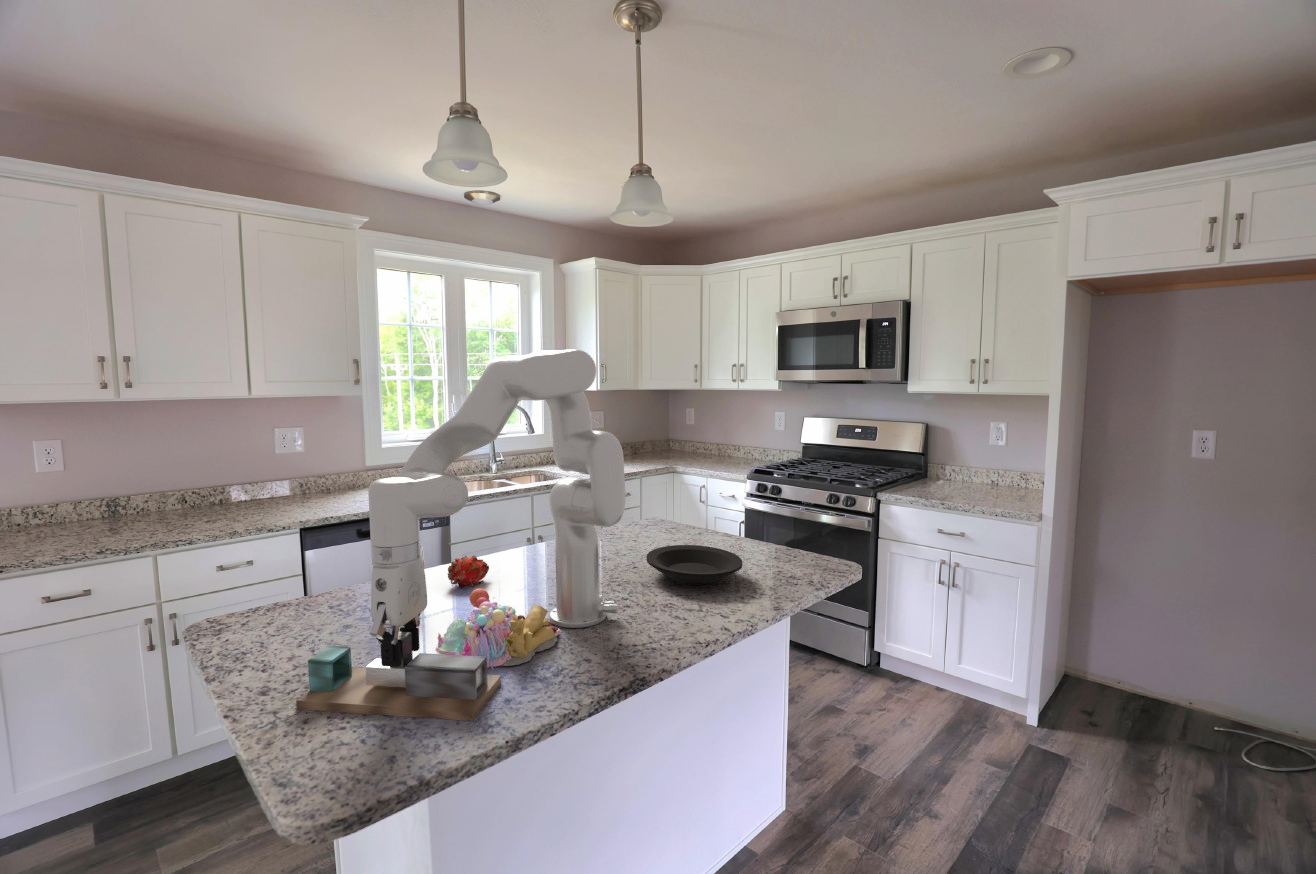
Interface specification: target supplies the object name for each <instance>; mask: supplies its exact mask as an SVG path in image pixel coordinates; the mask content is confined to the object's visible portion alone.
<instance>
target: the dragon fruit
mask: <svg viewBox="0 0 1316 874" xmlns="http://www.w3.org/2000/svg"><path fill="white" fill-rule="evenodd" d="M453 560H454V561H451V564H450V565H449V566H448V567H447V571H448V573H447V578H448V580H449V581H450V584H451V585H457V584H458V587H459V588H463V587H464V586H466V587H470V588H472V587H474V585H481V584H482V583H483V582H484V578H485V577H486V576H487V574H488V573H489V570H490V565H488V563H487V562H486V561H484V559H478V557H477V556H476V555H472V556H471V557H468V556H467V555H465V556H464V557H462V558H458V557H457V558H455V559H453Z"/></svg>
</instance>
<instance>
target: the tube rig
mask: <svg viewBox="0 0 1316 874" xmlns="http://www.w3.org/2000/svg"><path fill="white" fill-rule="evenodd" d="M481 666H482V683H481V685H480V686H479V687H478V688H477V686H476V672H477V671H478V669H479V668H480V667H481ZM307 667H308V668H307V669H308V684H309V685H308V686H309V690H308V691H307V692H306V693H305V694H303V695H302V696H300V697H299V698H297V699H296V700H295V701H296V703H295V704H296V710H300V709H304V711H315V710H320V712H331V713H332V712H333V713H334V712H336V713H349V714H350V713H351V714H362V715H363V714H365V715H379V716H393V717H394V716H395V717H408V718H409V717H411V718H426V719H439V720H440V719H441V720H454V721H455V720H456V721H472V722H473V721H474V720H475V718H476V717H477V715H478V714H479V713H480V712H481V710H482V709H483V708H484V707H485V706H486V704H487V703H488V702H489V700H490V699H491V697H493V695H494V693H495V692H496V691H497V689H498V688H499V687H500V686H501V684H502V675H500V674H488V667H487V657H483V656H464V655H449V654H443V653H425V652H424V653H421V652H419V653H418V654H417V655H416V656H415V657H414V658H413V660H412V661H410V662H409V663H408V664H407V665H406V666H405V686H406V688H405V687H388V686H371V685H366V668H365V667H359V666H358V667H356V666H355V667H353V666H352V648H351V646H335V645H334V646H333V645H329V646H327V647H326V648H324V649H323V650H321V651H319V652H318V653H317V654H315V655H313V656H312V657H311V658H310V659H308V660H307Z"/></svg>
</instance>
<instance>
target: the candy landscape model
mask: <svg viewBox="0 0 1316 874" xmlns="http://www.w3.org/2000/svg"><path fill="white" fill-rule="evenodd" d="M469 601H470V602H469V603H470V605H471V606H472V607H474V608H475V609H473V610H472V611H471V612H470V615H469V616H467V621H465V620H464V619H461V618H456V619H455V620H454V621H452V622H451V623H449V625H448V627H447V629H446V632H445V633H444V634H443V635H442V634H441V633H439V632H438V636H437V643H436V647H435V651H437V652H438V653H439V654H445V655H464V656H483V657H487V669H489V668H491V671H492V670H494V667H495V668H496V667H499V666H505V667H510V666H517V665H521V664H524V663H527V662H529V661H532V657H534V656H535V654H536V652H537V653H538V652H542V651H544V650H548V649H550V648H552V647H554V646H555V645H556V642H557V641H558V635H559V634H560V633H561V632H560V628H558V626H557V625H555V624H554V623H552V622H551V621H549V619H548V618H546V616H547V614H548V609H546V608H544V607H543V606H541V605H538V604H533V605H532V607H531V609H530V610H529V612H528V614H526V616H524V615H522V614H519V615H517V614H516V611H517V610H516V609H515V608H514V607H513V606H510V605H506V604H505V605H501V604H498V602H497V601H490V595H489V592H488V591H487V590H486V589H484V588H480V587H479V588H476V589H474V590H473V591H472V592H471V593H470V595H469Z"/></svg>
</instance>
